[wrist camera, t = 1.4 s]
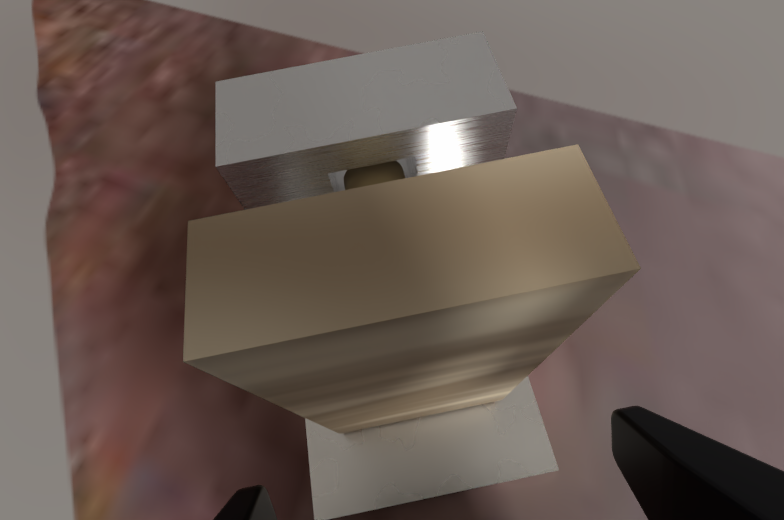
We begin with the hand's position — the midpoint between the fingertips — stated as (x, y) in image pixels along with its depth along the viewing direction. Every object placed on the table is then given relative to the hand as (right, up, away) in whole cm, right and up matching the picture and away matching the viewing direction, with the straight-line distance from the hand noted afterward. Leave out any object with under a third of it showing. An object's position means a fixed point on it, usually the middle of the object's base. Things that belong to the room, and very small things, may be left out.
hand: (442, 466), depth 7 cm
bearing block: (0, 0, +14) cm, 14 cm away
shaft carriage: (0, +1, +13) cm, 13 cm away
